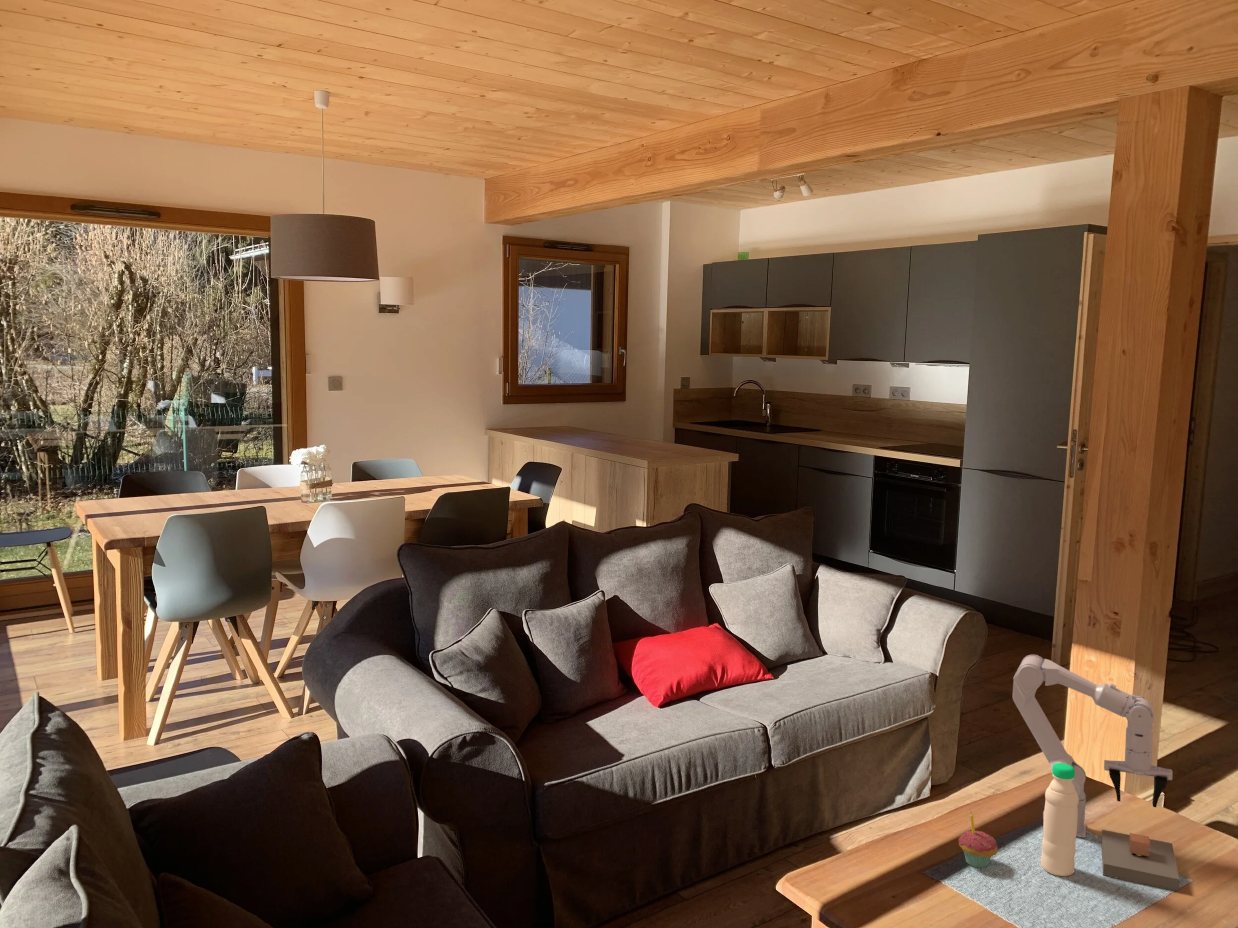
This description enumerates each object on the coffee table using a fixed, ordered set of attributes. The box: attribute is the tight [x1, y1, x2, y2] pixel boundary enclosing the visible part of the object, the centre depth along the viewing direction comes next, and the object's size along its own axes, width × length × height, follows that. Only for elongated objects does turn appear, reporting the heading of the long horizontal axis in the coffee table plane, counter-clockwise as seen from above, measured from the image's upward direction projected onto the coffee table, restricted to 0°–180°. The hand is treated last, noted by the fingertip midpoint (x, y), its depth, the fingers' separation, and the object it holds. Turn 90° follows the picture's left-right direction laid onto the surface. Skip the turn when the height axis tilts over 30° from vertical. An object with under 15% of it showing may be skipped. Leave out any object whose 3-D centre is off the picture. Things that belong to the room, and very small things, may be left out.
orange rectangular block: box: [1129, 832, 1150, 856], centre depth 224 cm, size 4×4×6 cm
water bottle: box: [1040, 763, 1079, 877], centre depth 220 cm, size 7×7×25 cm
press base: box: [1100, 829, 1180, 892], centre depth 224 cm, size 15×18×3 cm
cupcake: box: [958, 811, 999, 869], centre depth 224 cm, size 9×8×12 cm
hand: (1136, 802), depth 233 cm, fingers open, 7 cm apart
